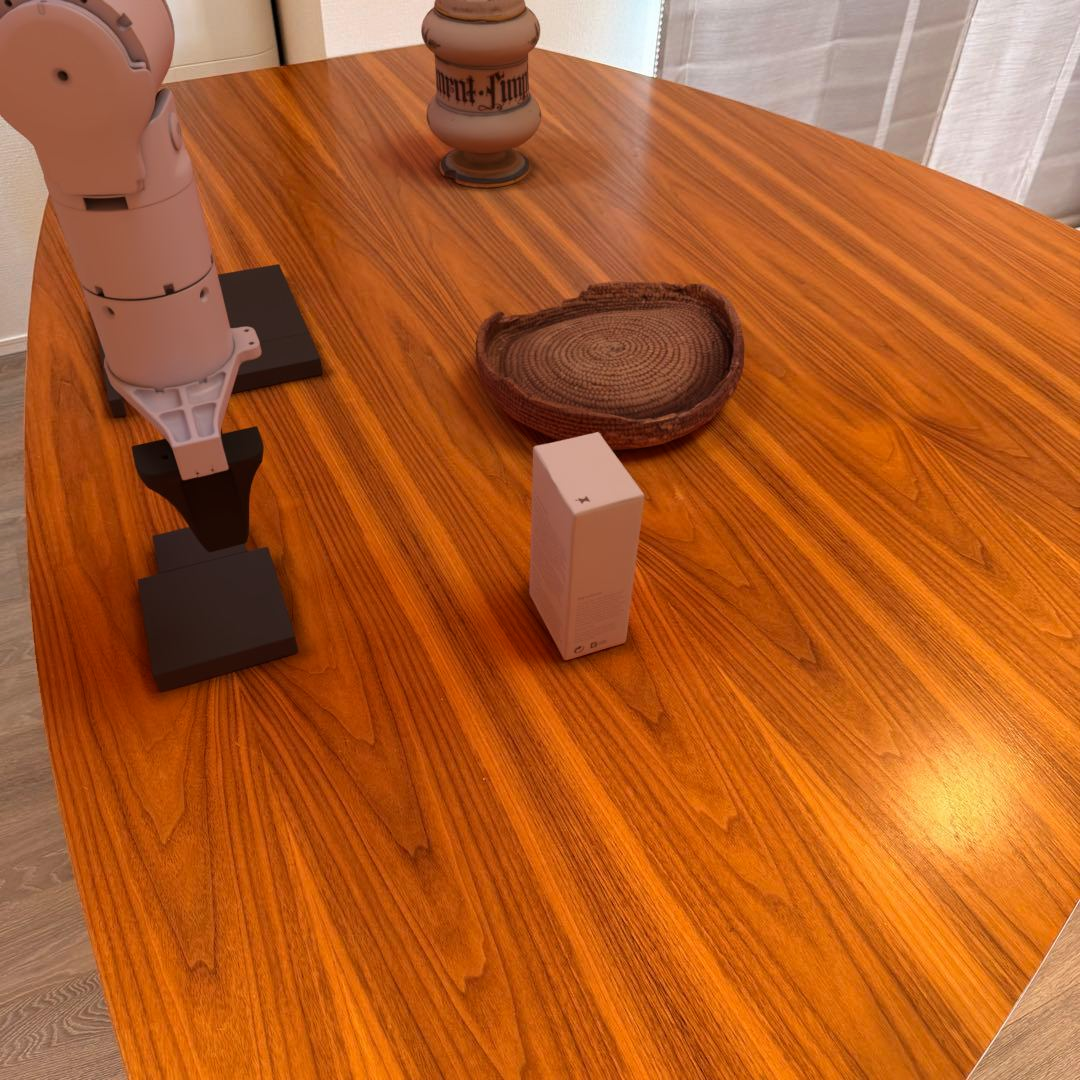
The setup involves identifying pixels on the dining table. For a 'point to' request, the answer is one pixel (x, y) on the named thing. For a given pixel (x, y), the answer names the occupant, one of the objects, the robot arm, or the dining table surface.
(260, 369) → the big pad
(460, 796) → the dining table surface
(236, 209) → the dining table surface
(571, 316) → the basket
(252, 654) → the small pad
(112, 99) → the robot arm
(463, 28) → the apothecary jar
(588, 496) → the cosmetic box
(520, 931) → the dining table surface
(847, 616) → the dining table surface
